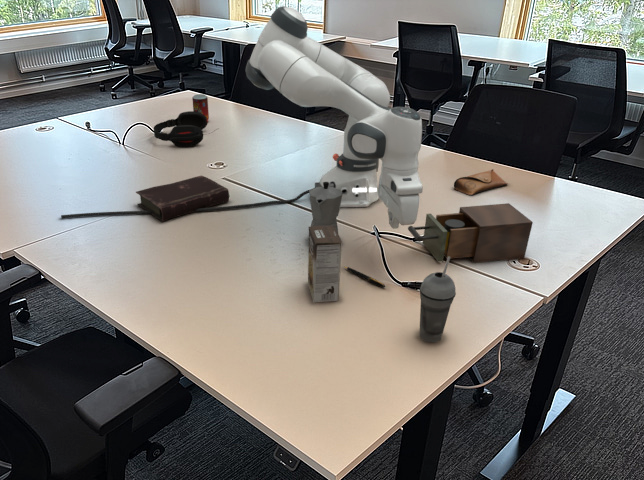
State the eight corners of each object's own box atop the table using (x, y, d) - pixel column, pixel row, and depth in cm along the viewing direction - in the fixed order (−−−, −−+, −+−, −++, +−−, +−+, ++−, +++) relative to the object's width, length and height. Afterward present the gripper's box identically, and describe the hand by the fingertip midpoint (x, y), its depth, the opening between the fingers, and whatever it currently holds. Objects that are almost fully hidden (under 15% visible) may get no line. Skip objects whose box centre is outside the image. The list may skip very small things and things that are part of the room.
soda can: (191, 123, 277) (189, 96, 270) (198, 119, 282) (196, 93, 276) (204, 124, 274) (202, 97, 268) (211, 120, 280) (210, 94, 273)
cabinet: (473, 263, 155) (480, 226, 150) (454, 241, 166) (459, 207, 160) (524, 258, 156) (533, 222, 151) (501, 237, 167) (509, 203, 161)
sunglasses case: (472, 195, 193) (467, 175, 192) (456, 199, 199) (451, 180, 198) (510, 183, 200) (505, 164, 199) (493, 188, 206) (489, 169, 206)
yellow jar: (445, 251, 157) (449, 227, 153) (438, 243, 161) (442, 220, 157) (463, 250, 157) (467, 226, 153) (456, 242, 161) (460, 218, 158)
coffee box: (306, 284, 148) (307, 225, 140) (331, 282, 149) (334, 224, 140) (312, 303, 141) (314, 242, 132) (339, 301, 141) (342, 241, 133)
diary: (230, 202, 194) (229, 188, 192) (163, 223, 182) (161, 208, 180) (200, 186, 207) (199, 173, 205) (136, 205, 195) (134, 190, 192)
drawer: (417, 263, 154) (421, 233, 149) (402, 244, 163) (406, 215, 159) (485, 257, 156) (491, 227, 151) (467, 239, 165) (472, 210, 160)
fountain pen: (341, 269, 154) (341, 264, 154) (344, 267, 155) (344, 262, 154) (383, 290, 145) (384, 284, 144) (387, 288, 146) (387, 283, 145)
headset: (226, 143, 250) (225, 122, 245) (167, 153, 240) (165, 132, 235) (202, 127, 271) (201, 108, 267) (147, 136, 262) (145, 116, 257)
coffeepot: (333, 254, 161) (336, 192, 152) (301, 249, 165) (301, 188, 155) (347, 231, 174) (350, 172, 164) (316, 227, 177) (318, 169, 167)
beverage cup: (420, 323, 132) (432, 243, 122) (452, 333, 129) (467, 252, 118) (407, 339, 127) (418, 258, 117) (440, 350, 124) (455, 267, 113)
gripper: (374, 162, 155) (370, 211, 162) (399, 191, 137) (394, 244, 145) (397, 161, 155) (392, 209, 163) (425, 189, 138) (418, 242, 145)
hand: (393, 226), depth 154 cm, fingers closed
